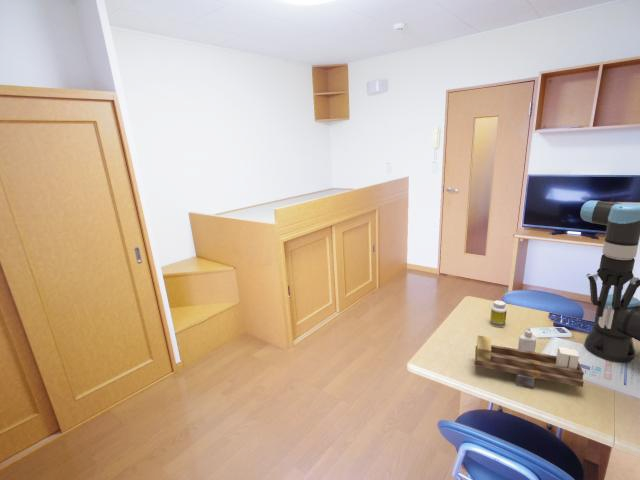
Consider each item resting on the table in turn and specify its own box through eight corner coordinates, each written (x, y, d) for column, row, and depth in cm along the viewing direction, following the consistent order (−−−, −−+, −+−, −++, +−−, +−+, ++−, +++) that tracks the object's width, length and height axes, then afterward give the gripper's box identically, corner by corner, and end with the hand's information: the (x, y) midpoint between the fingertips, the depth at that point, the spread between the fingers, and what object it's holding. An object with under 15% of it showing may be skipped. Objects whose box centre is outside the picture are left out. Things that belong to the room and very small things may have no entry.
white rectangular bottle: (531, 360, 129) (534, 332, 126) (515, 353, 134) (518, 327, 130) (535, 355, 132) (539, 328, 129) (520, 349, 136) (523, 323, 133)
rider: (572, 367, 115) (576, 349, 113) (575, 374, 111) (579, 356, 110) (555, 364, 117) (558, 346, 115) (557, 371, 113) (560, 353, 112)
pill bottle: (506, 328, 151) (508, 306, 148) (491, 326, 153) (493, 305, 150) (503, 321, 157) (505, 300, 154) (488, 320, 159) (490, 299, 156)
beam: (572, 376, 120) (577, 349, 117) (581, 399, 109) (587, 370, 106) (474, 357, 133) (476, 333, 130) (474, 376, 122) (476, 350, 119)
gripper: (643, 254, 100) (628, 323, 106) (585, 250, 106) (574, 316, 112) (655, 262, 93) (637, 336, 100) (592, 257, 99) (580, 328, 106)
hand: (604, 325), depth 106 cm, fingers closed
